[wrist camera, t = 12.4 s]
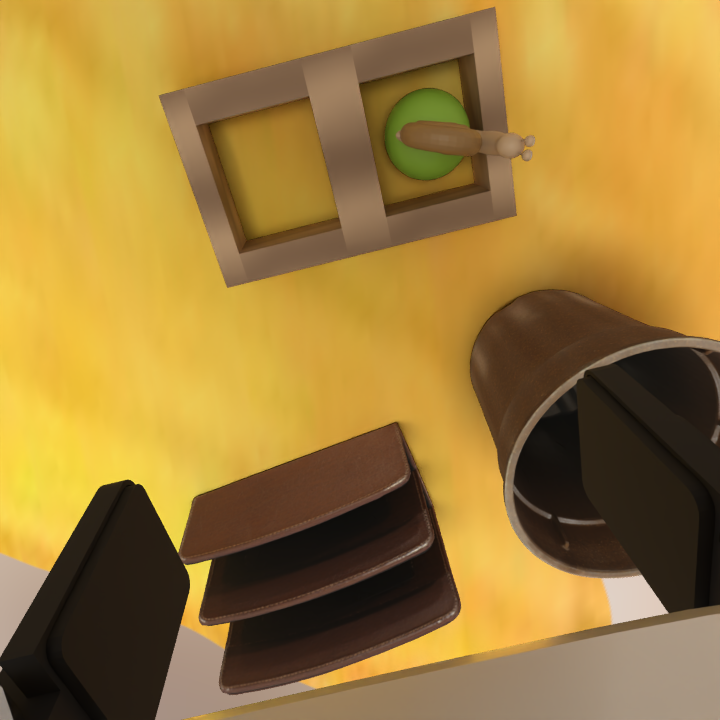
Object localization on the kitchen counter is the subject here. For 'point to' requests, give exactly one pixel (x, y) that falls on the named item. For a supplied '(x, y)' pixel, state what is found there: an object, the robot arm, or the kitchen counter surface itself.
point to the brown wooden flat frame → (347, 147)
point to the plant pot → (575, 412)
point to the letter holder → (321, 562)
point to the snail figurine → (441, 136)
